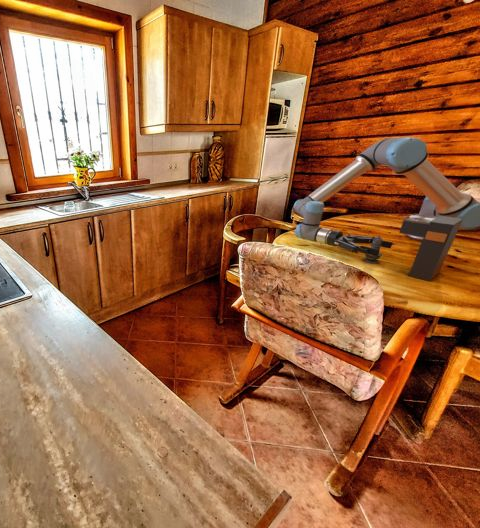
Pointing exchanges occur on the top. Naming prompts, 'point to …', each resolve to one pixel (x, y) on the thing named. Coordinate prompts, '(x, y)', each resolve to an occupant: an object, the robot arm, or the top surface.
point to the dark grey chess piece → (376, 245)
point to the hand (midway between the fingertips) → (385, 249)
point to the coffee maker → (430, 242)
